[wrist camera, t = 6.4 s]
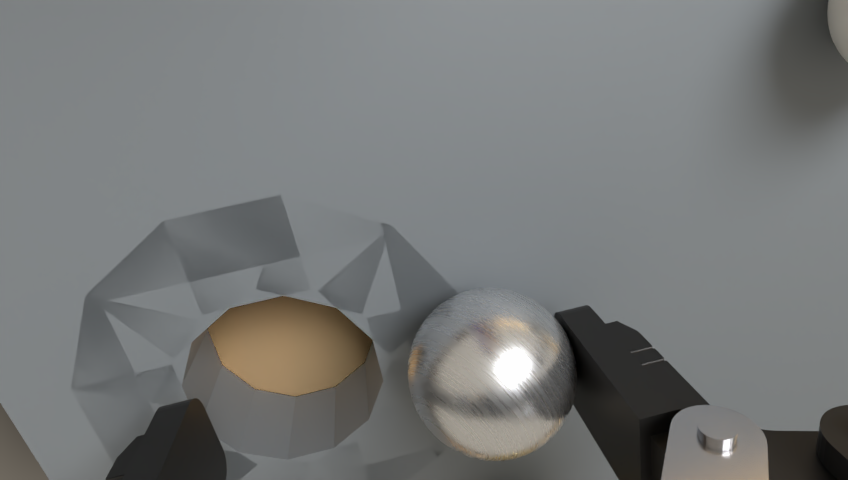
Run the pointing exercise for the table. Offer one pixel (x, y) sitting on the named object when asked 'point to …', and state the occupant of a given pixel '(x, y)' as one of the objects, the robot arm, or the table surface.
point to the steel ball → (492, 374)
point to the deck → (410, 209)
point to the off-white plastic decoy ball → (839, 25)
